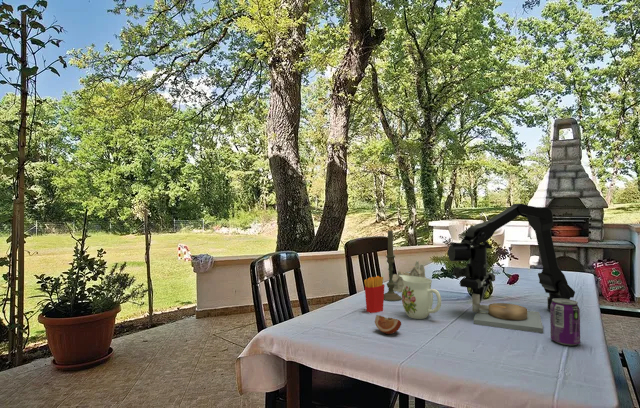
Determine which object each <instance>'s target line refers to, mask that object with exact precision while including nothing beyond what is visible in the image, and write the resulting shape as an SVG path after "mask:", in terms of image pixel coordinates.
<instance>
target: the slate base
mask: <svg viewBox="0 0 640 408" xmlns="http://www.w3.org/2000/svg"><path fill="white" fill-rule="evenodd" d="M473 325H479V326H486V327H494V328H499V329H500V328H501V329H507V330H508V329H509V330H515V331H522V332H523V331H524V332H531V333H539V334H544V325H543V321H542V318H541V314H540V311H534V310H533V311H532V310H527V319H524V320H507V319H501V318H497V317H494V316H491V315H490V314H489V313H488V311H485V310H480V312H475V315H474V317H473Z"/></svg>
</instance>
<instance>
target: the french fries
mask: <svg viewBox="0 0 640 408" xmlns="http://www.w3.org/2000/svg"><path fill="white" fill-rule="evenodd" d="M363 281H364V293H365V296H364V297H365V307H366V308H365V309H366V312H367V313H371V314H375V313H381V312H383V310H384V302H385V300H384V294H385V284H384V276H379V275H377V276H370V277H368V278H366V279H364V280H363Z"/></svg>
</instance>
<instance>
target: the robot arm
mask: <svg viewBox="0 0 640 408" xmlns="http://www.w3.org/2000/svg"><path fill="white" fill-rule="evenodd" d="M519 217H522V218H526V219H527V222H528V224H529V226H530V227H531V228H532V230H533V231H534V232H535V237H536V242H537V247H538V251H539V255H540V260H541V265H542V270H541V272H539V273H538V272H537V275H538V278H539V279H538V280H539V282H538V283H539V284H540V285H541V287H542V288H543V289H544V291H545V294H548V297H547V296H546V297H547V302H546V303H547V306H546V308H547V310H549V312H550V305H551V303H552V299H555V298H562V299H570V300H571V298H572V299H573V298H574V297H575V294H576V290H574V289H573V288H572V287H571V286H570V285H569V283H568V281H567V280H568V279H566V276H565V273H563V271H562V270H561V269H560V267H559V265H558V258H557V254H556V251H555V245H554V240H553V236H552V232H551V231H552V230H551V229H552V225H553V224H554V215H553V211H552V209H550V208H548V207H546V206H533V205H532V206H531V205H528V204H524V203H513V204H511V205H510V206H509V207H507V208H506V209H504V210H502V211H501V212H499V213H498V214H496V215H495V216H493V217H491V218H489V219H488V220H486V221H483V222H480V223H477V224H474V225H471V226H470V227H468V228H467V230H466V234H465V235H464V237H463V238H462V240H461V242H450V245H449V247H448V250H447V257H448V259H449V261H451V262H468V261H469V262H468V263H466V267H465V266H464V267H460V266H457V267H456V266H455V267H454V268H453V271H452V275H453V276H454V277H455V279H457V280H458V279H460V278H462V279H460V280H459V286H460V287H462V288H468V289H471V290H472V294H480V304H481V303H482V300H483V299H484V296H485V295H486V294H485V293H486V292H487V290H488V288H489V286H491V285H490V283H487V282H486V281H487V280H489V281H491V282H495V281H496V275H495V274H494V273H493V272H487V271H488V270H487V267H489V263H488V262H487V249H493V246H492V245H491V244H490V243H489V242H488V240H490V238H492V237H493V236H494V234H495V232H496V231H497V230H499V229H501V228H502V227H505V225H507V224H509V223H510V222H511V221H514V220H515V219H517V218H519Z"/></svg>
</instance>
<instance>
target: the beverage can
mask: <svg viewBox="0 0 640 408" xmlns="http://www.w3.org/2000/svg"><path fill="white" fill-rule="evenodd" d="M549 315H550V316H549V318H550V321H549V322H550V339H551V340H552V341H554V342H555V343H557V344H560V345H564V346H568V347H569V346H570V347H571V346H576V345H580V343H581V309H580V307H579V305H578V301H577V300H575V299H571V298H570V299H562V298H555V299H552V303H551V305H550V311H549Z"/></svg>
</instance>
